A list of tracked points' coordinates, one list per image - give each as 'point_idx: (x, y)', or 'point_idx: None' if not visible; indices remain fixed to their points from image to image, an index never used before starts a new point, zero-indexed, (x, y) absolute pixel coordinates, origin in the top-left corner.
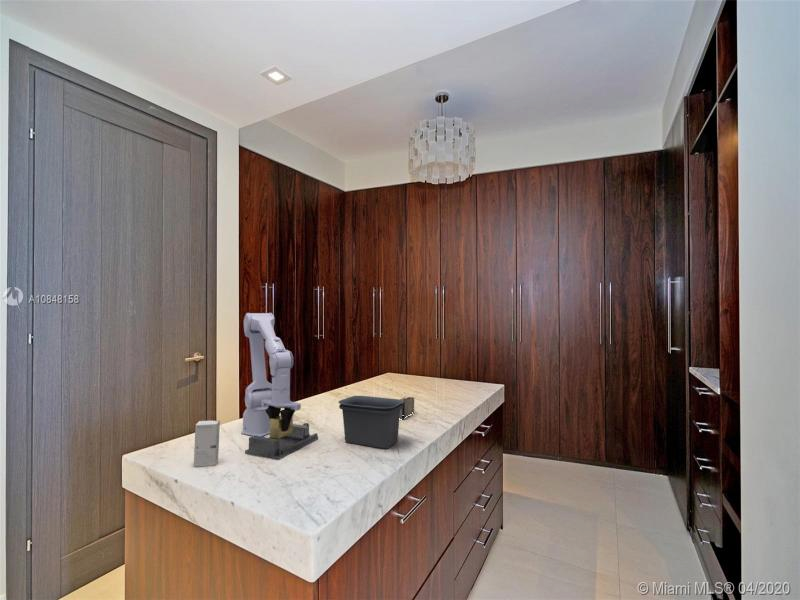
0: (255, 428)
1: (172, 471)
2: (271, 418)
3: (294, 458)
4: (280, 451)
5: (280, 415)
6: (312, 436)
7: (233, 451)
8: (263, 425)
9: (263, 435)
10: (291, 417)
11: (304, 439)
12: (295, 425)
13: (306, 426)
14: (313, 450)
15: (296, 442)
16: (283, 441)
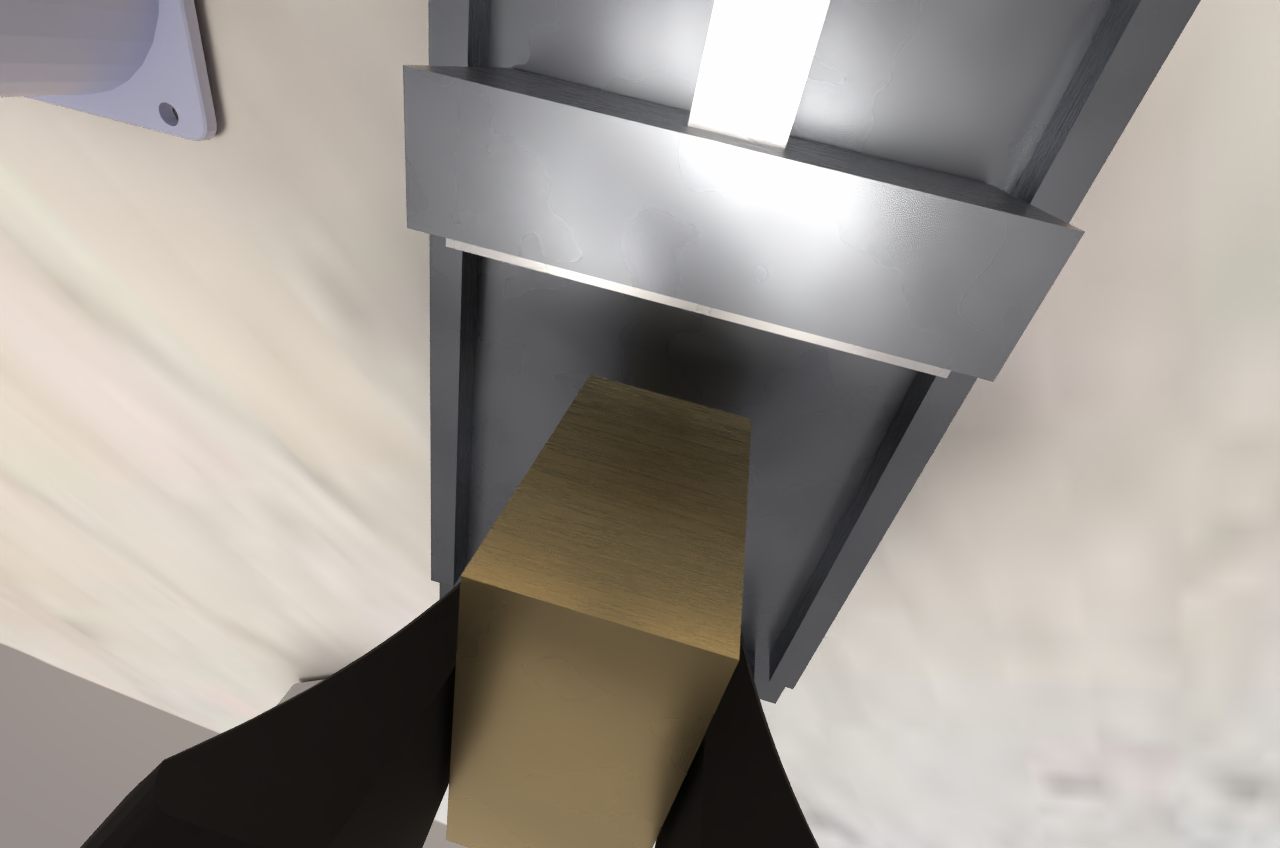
0: (2, 94)
1: None
2: (458, 837)
3: (906, 657)
4: (745, 618)
5: (465, 687)
6: (1077, 194)
7: (335, 542)
8: (16, 24)
9: (207, 89)
10: (789, 806)
11: (955, 391)
12: (719, 225)
13: (1012, 258)
14: (1087, 491)
15: (826, 384)
16: (638, 365)
